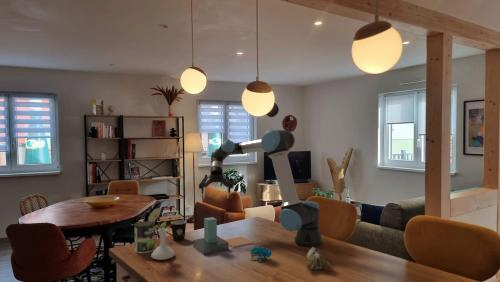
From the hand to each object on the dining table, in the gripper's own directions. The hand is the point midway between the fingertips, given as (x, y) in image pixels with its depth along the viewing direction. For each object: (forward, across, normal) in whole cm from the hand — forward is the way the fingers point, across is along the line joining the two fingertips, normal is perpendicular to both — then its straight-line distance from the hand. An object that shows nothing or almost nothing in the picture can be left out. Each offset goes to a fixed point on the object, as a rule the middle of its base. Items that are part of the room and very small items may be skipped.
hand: (215, 197), depth 188 cm
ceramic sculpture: (+49, -47, +9) cm, 68 cm away
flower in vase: (+35, +26, -2) cm, 44 cm away
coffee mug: (+14, +23, -21) cm, 34 cm away
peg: (+27, +2, -10) cm, 28 cm away
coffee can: (+26, +37, -10) cm, 46 cm away
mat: (+20, -12, -16) cm, 28 cm away
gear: (+40, -23, +2) cm, 46 cm away
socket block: (+27, +2, -10) cm, 28 cm away
